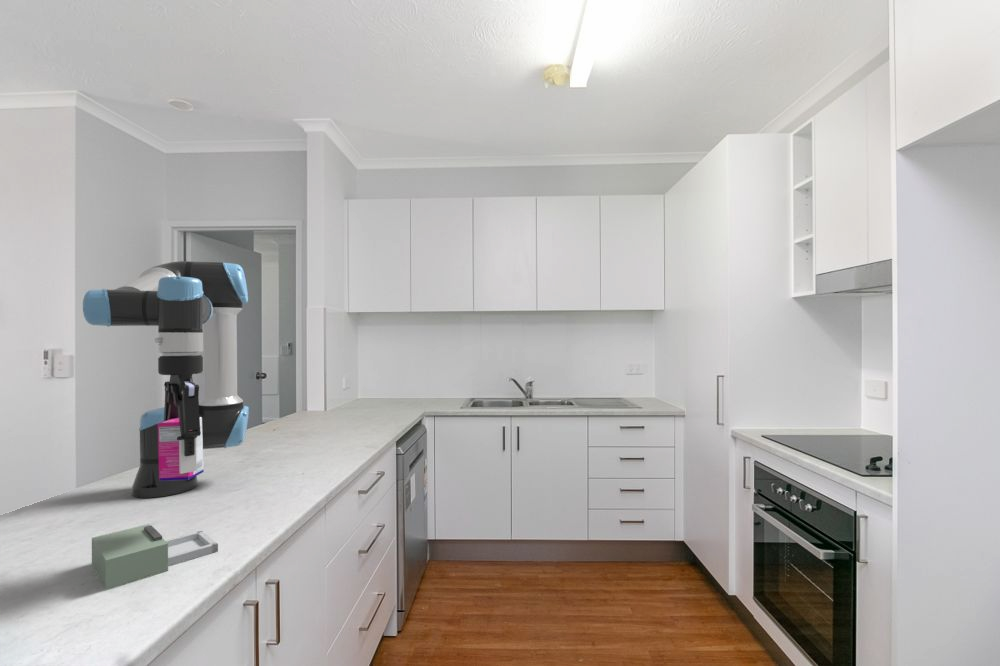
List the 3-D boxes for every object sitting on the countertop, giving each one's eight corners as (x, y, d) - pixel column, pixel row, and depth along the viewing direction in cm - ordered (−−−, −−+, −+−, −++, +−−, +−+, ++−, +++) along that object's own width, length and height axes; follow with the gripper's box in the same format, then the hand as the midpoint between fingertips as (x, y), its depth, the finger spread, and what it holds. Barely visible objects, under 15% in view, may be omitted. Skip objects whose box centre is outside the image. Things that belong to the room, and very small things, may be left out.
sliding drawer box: (91, 564, 93) (91, 534, 93) (198, 535, 106) (198, 509, 106) (106, 589, 83) (106, 556, 83) (221, 554, 97) (221, 525, 97)
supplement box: (174, 473, 100) (174, 417, 100) (204, 472, 101) (204, 416, 101) (156, 481, 95) (156, 422, 95) (189, 480, 95) (188, 421, 95)
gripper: (145, 353, 102) (145, 463, 102) (173, 356, 88) (174, 482, 88) (186, 352, 108) (187, 456, 107) (219, 354, 94) (220, 473, 94)
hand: (181, 467), depth 98 cm, fingers closed on supplement box, 8 cm apart
